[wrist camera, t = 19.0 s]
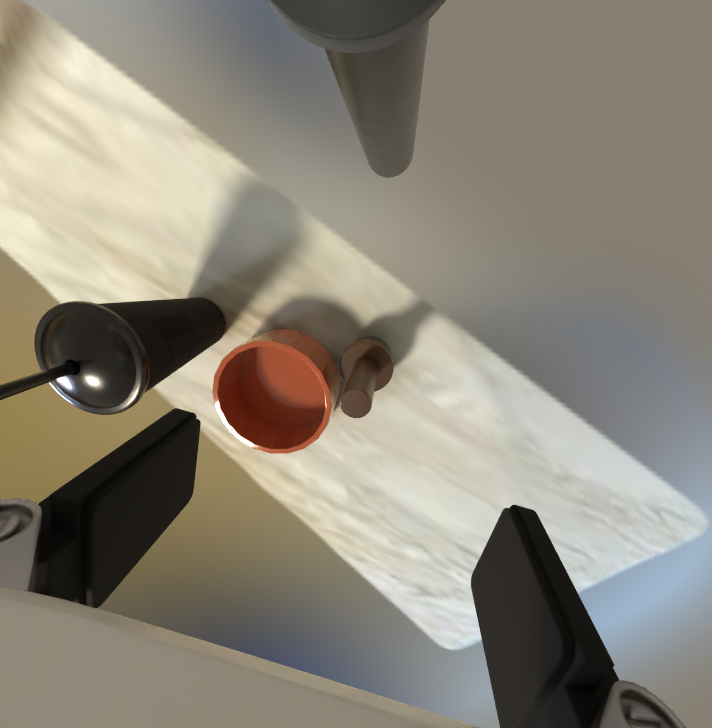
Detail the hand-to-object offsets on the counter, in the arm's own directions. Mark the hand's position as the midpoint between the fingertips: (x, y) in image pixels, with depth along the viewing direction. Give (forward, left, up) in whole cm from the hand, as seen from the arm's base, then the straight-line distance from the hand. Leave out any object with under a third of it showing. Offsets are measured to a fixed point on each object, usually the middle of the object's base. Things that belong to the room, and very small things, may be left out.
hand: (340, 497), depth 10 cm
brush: (+3, 0, -24) cm, 25 cm away
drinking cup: (+4, -18, -24) cm, 31 cm away
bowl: (+8, -8, -24) cm, 27 cm away
